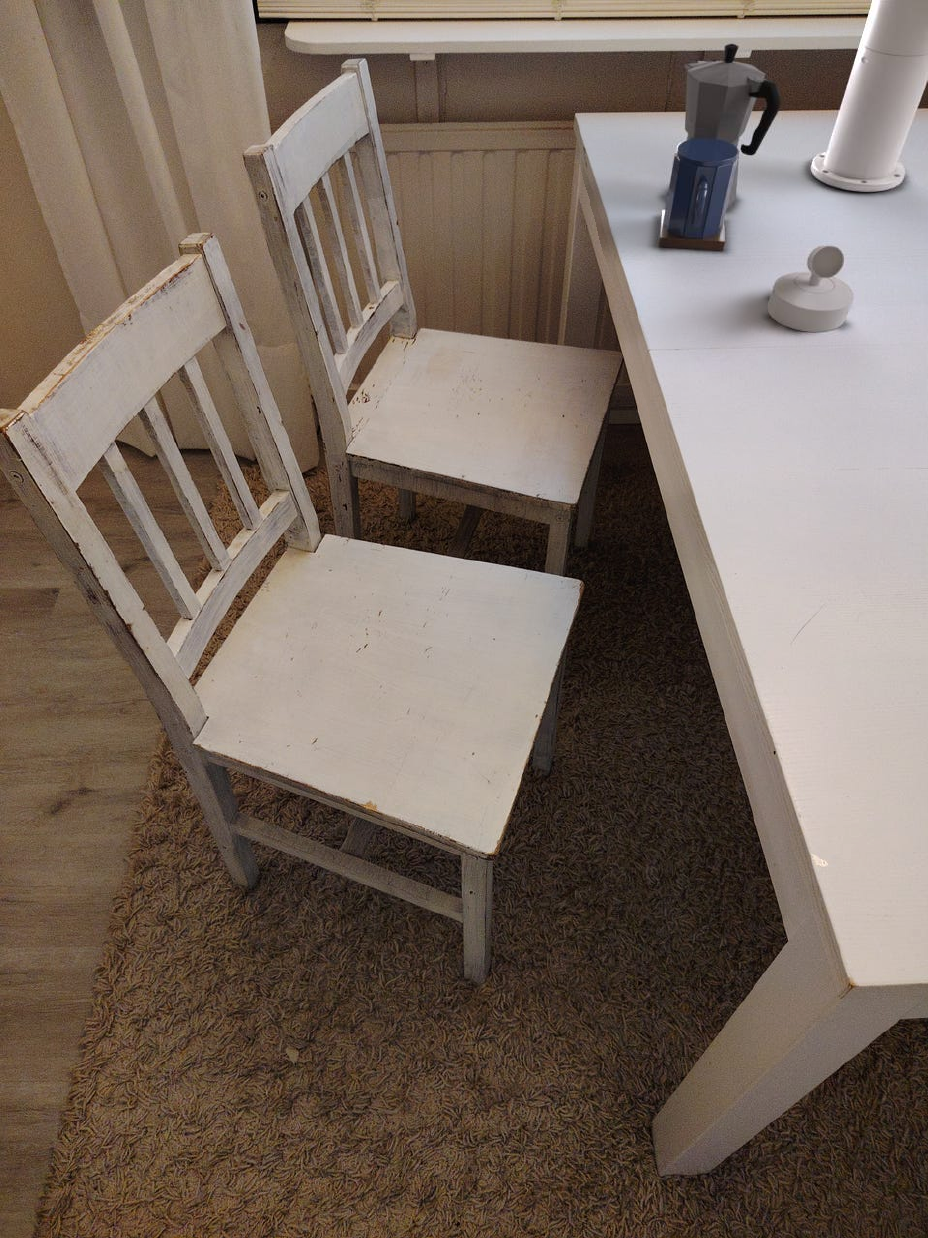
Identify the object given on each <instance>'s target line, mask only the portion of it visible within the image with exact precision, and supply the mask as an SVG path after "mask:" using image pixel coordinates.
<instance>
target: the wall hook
mask: <svg viewBox="0 0 928 1238" xmlns="http://www.w3.org/2000/svg"><path fill="white" fill-rule="evenodd" d="M844 264H845V255H844V253H843V251H842V250H841V249H840V248H839V247H837V246H834V245H825V244H824V245H820V246H817V247H815V248H814V249H812V250H811V252H810V253H809V254H808V257H807V260H806V266H807V269H808V271H795V272H789V273H786V274H784V275H781V276H780V277H778V278H777V279H775V282H774V284H773V286H772V290H771V294H770V297H769V300H768V303H767V312H768V314H769V316H770V317H771V318H772V319H773V320H774V321H776V322H777V323H779V324H780V325H782V326H785V327H787V328H790V329H793V330H796V331H802V332H808V333H823V332H829V331H833V330H835V329H838V328H839V327H841V326H842V325H843V324H844V323H845V321H846V319H847V317H848V314H849V311H850V309H851V307H852V303H853V301H854V297H855V295H854V291H853V289H852V288H851V287H850V286H849V285H848V283H846V282H845V281H843V280H842V279H840V278H837V277H835V276H836V275H838V274H839V272H840V271H841V270H842V269H843V266H844Z"/></svg>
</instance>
